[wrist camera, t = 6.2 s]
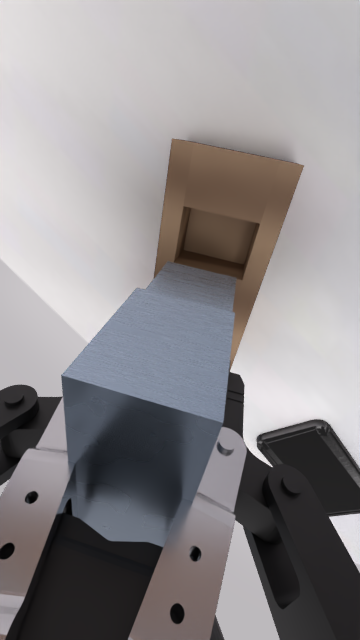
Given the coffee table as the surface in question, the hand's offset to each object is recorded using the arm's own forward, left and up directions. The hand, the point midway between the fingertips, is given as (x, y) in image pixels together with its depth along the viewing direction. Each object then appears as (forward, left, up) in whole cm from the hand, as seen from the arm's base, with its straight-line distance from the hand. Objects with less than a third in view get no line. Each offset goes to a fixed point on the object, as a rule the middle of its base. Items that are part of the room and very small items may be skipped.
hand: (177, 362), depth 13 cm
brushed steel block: (0, 0, -2) cm, 2 cm away
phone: (+20, +17, -12) cm, 29 cm away
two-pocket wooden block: (0, 0, -12) cm, 12 cm away
